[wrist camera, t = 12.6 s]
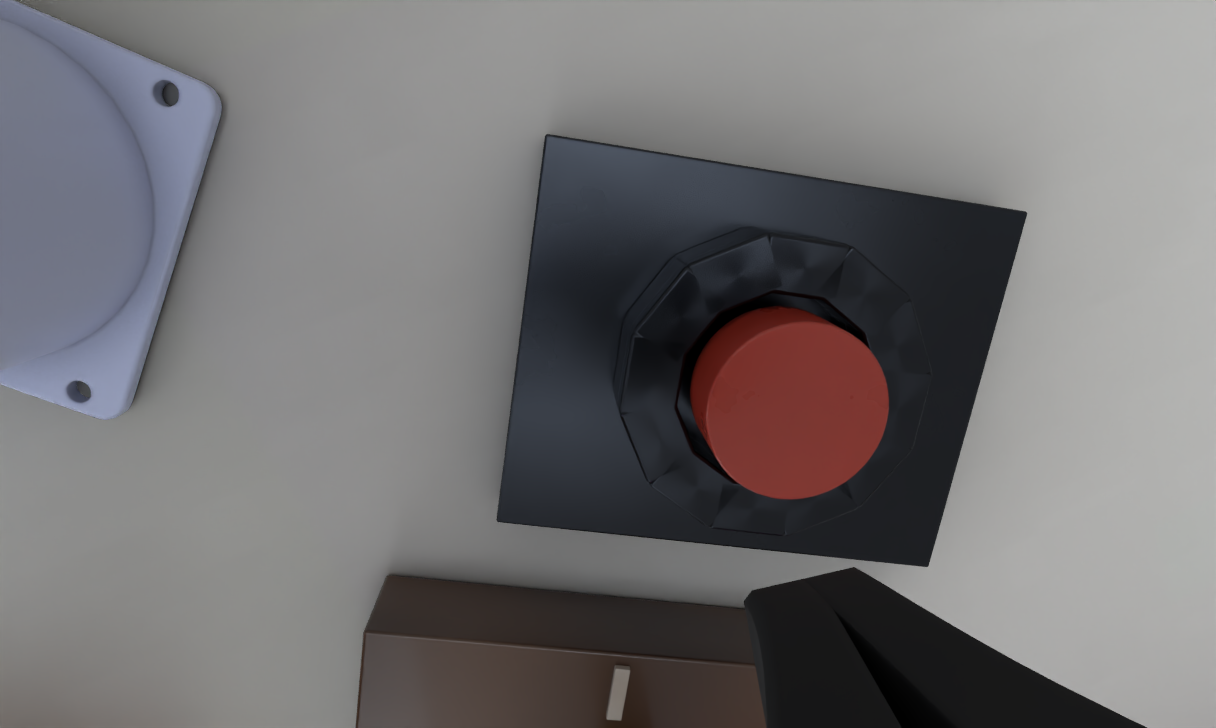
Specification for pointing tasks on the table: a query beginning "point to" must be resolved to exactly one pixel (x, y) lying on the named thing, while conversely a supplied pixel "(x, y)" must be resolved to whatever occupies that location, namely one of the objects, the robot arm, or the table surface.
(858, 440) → the release button
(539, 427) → the button block
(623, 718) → the panel
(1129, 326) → the table surface
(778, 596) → the robot arm
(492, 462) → the table surface
